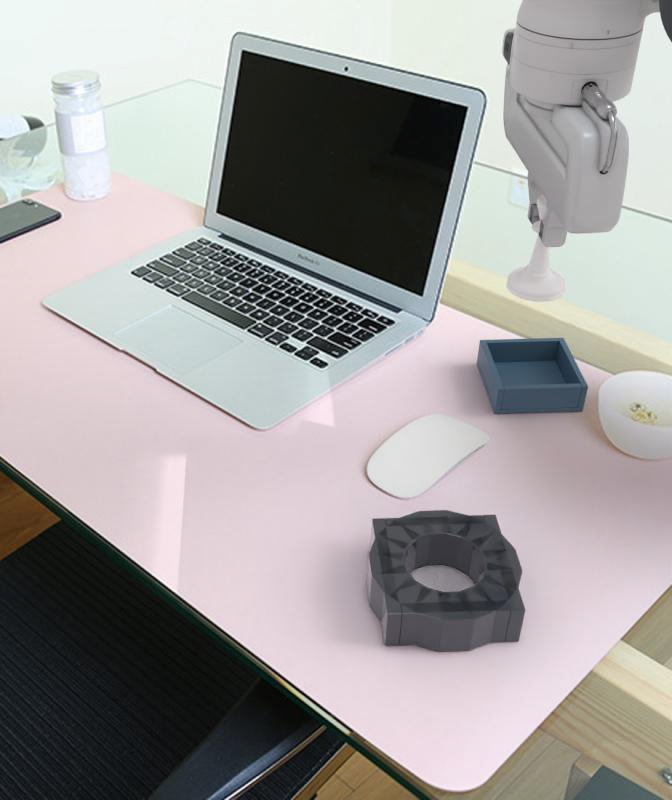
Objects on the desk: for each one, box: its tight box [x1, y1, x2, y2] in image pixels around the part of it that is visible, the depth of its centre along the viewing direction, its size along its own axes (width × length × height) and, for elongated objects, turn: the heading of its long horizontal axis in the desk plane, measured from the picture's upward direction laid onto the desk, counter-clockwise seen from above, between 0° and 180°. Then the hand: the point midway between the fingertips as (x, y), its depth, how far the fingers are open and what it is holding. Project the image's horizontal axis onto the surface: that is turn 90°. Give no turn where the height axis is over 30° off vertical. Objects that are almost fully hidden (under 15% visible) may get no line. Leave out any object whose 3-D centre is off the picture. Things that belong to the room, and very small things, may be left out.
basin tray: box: [476, 337, 589, 415], centre depth 96 cm, size 9×9×3 cm
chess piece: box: [505, 195, 566, 303], centre depth 79 cm, size 5×5×10 cm
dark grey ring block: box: [366, 509, 526, 653], centre depth 74 cm, size 11×11×4 cm
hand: (545, 233), depth 79 cm, fingers closed on chess piece
